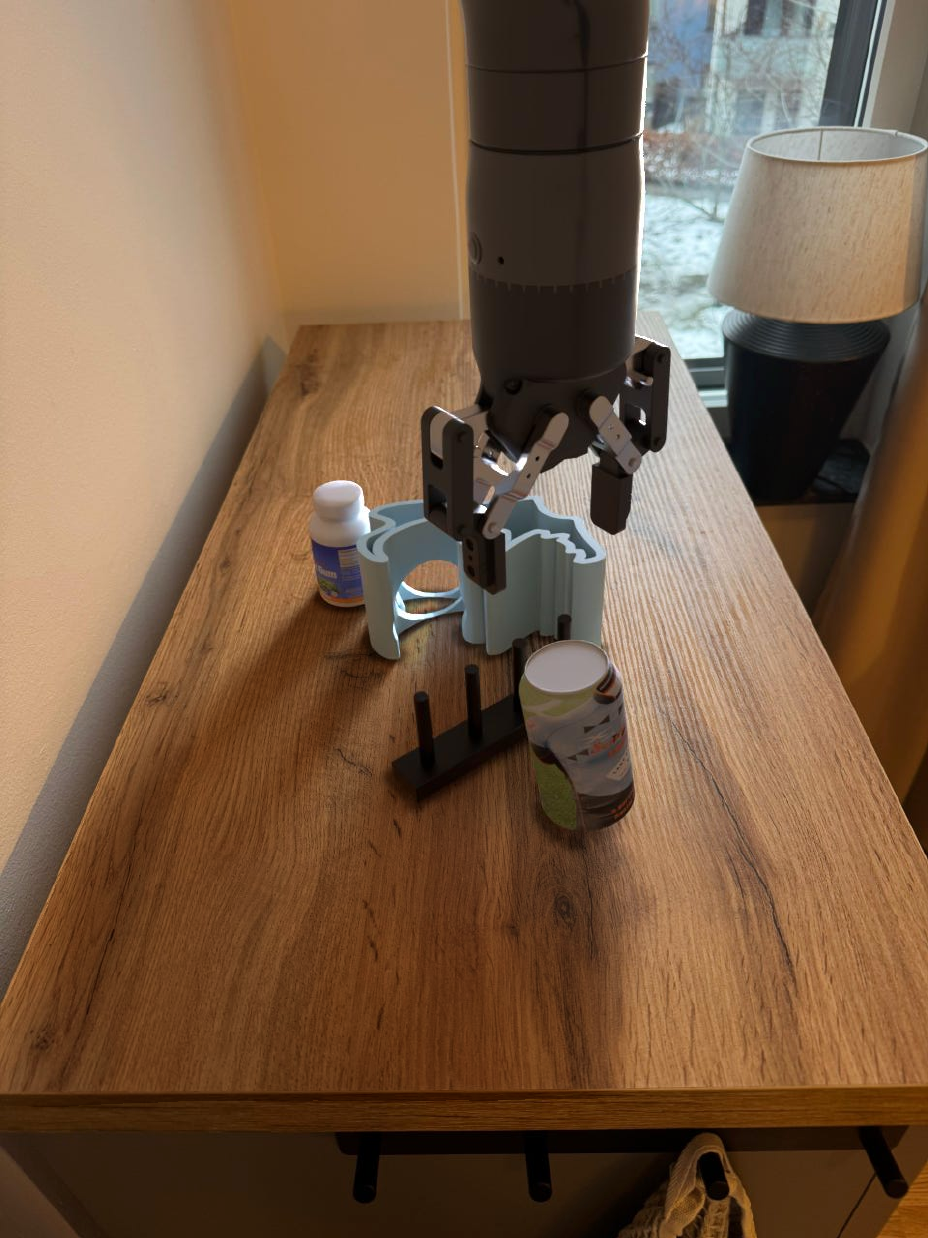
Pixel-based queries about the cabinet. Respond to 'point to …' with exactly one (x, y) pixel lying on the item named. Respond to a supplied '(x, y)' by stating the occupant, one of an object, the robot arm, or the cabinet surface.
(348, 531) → the pill bottle
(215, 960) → the cabinet surface
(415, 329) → the cabinet surface
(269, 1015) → the cabinet surface
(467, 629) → the squiggly pen holder
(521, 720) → the rack
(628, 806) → the beverage can
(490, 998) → the cabinet surface
